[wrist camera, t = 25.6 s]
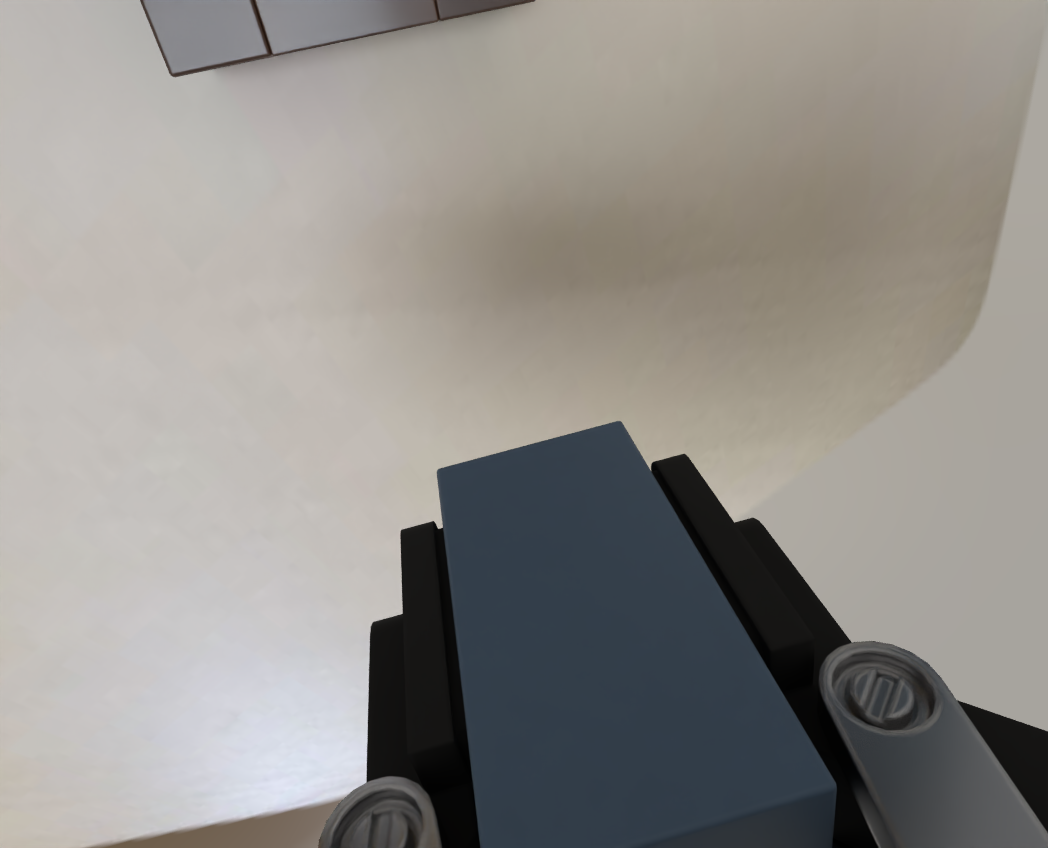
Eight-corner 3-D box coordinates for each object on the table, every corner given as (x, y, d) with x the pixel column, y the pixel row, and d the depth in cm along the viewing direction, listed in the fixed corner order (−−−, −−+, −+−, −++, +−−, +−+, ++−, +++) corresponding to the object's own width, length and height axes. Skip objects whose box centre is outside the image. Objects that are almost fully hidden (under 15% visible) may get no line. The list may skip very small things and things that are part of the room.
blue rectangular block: (621, 418, 11) (840, 786, 6) (641, 556, 13) (827, 944, 8) (435, 468, 11) (483, 893, 6) (479, 602, 13) (550, 1029, 7)
